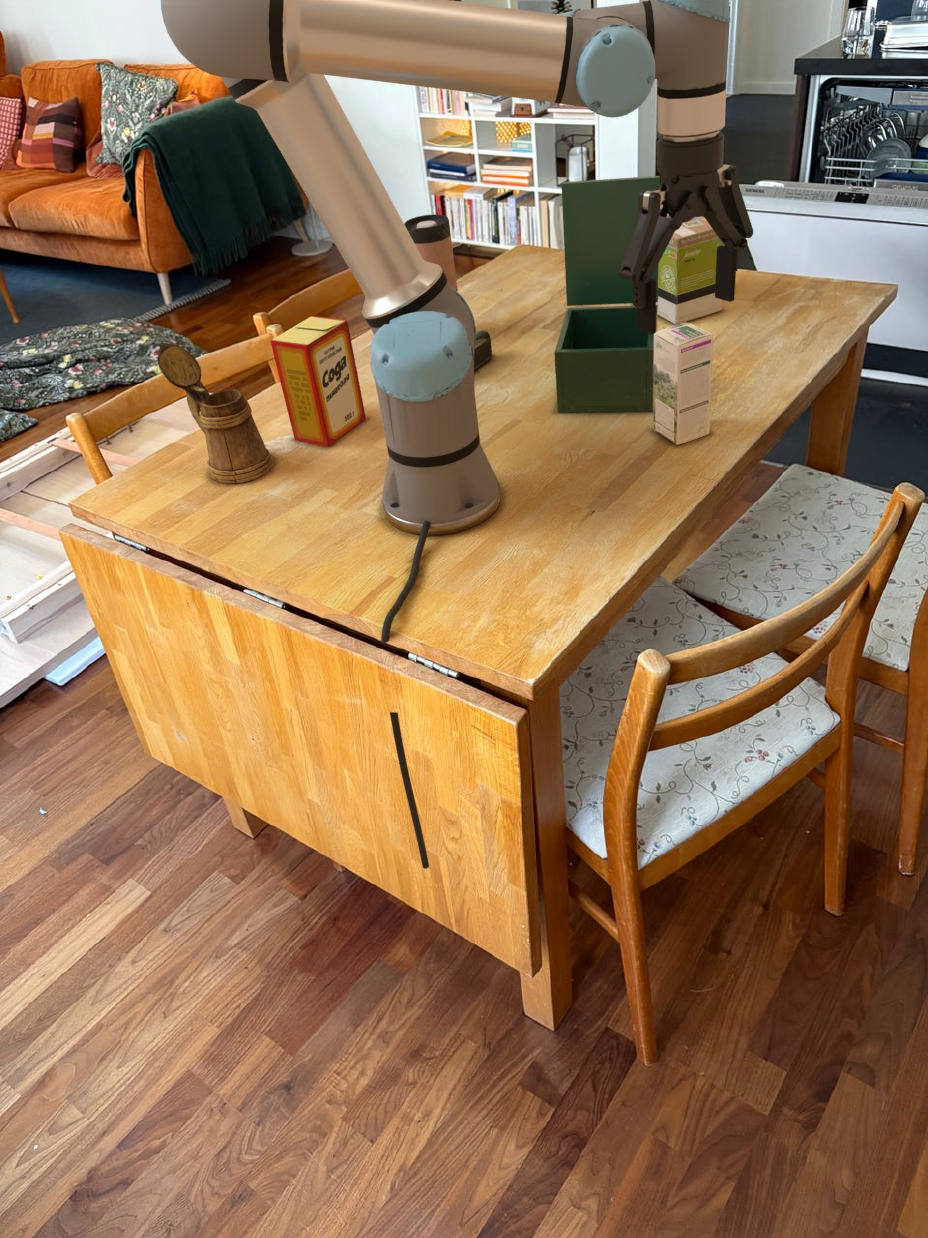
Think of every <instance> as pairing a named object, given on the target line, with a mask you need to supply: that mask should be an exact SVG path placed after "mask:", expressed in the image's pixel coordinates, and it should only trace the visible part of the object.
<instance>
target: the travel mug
mask: <svg viewBox="0 0 928 1238" xmlns="http://www.w3.org/2000/svg"><path fill="white" fill-rule="evenodd" d="M403 223H404V225H405V227H406V229H407V230H408V232H409V234H410V236H411V238H412V240H413V242H414V243H415V245H416V247H417V249H418V251H419V253H420V255H421V256H422V258H423V260H425V261H427V262H430V263H434V264H437V265H439V266H440V267H441V268H442V270H443V272H444V274H445V276H446V277H447V279H448V281H449V283H450V285H451V287H452V288H454V289H455V290H456V291H457V292H459V291H458V290H459V289H458V283H457V281H458V280H457V274H456V265H455V259H454V249H453V241H452V233H451V225H450V219H449V217H448V216H447V215H444V214H424V215H418V216H415V217H412V218H410V219H408V220H406V221H405V222H403Z"/></svg>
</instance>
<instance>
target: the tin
mask: <svg viewBox="0 0 928 1238" xmlns="http://www.w3.org/2000/svg"><path fill="white" fill-rule="evenodd" d="M658 316H659V315H658V305H656V332H657V331H658V327H659V326H658V324H659V323H658V321H659V320H658V318H659V317H658ZM554 369H555V370H554V372H555V387H556V388H555V389H556V404H557V405H556V406H557V407H556V408H557V413H558V414H559V413H560V414H561V413H562V414H563V413H567V414H568V413H628V412H629V413H630V412H631V413H633V412H636V413H637V412H639V413H640V412H654V334H652V335H651V334H648V333H646V332H643V331H640V330H637V315H636V307H634V305H615V306H587V307H567V308H566V312H565V315H564V318H563V322H562V325H561V328H560V332H559V335H558V339H557V342H556V345H555V348H554Z"/></svg>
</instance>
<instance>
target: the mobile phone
mask: <svg viewBox="0 0 928 1238" xmlns="http://www.w3.org/2000/svg"><path fill="white" fill-rule="evenodd" d="M492 347H493V346H492V338H491V334H490V332H488V331H486V330H480V331H477V332H476V342H475V347H474V371H475V370H477V369H479V368H480V367H482V366H483V365H485V364H486V363H488V362H490V360H491V359H492V357H493V348H492Z"/></svg>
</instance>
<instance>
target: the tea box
mask: <svg viewBox="0 0 928 1238" xmlns="http://www.w3.org/2000/svg"><path fill="white" fill-rule="evenodd" d="M666 217H667V218H671V217H670V216H669V215H668V214H667V216H666ZM671 219H672V218H671ZM721 245H722V246H725V244H723V243H722V241H721V240H720V239H719V237H718V236H717V234H716V233H715V232H714V230H713V229H712V227H711V226H710V225H709V223H708V222H707V220H706V219H705V218H704V216H701V217H694V218H693V219H691V220H690V221H687V222H683V223H682V225H681V227H680V228H679V229H678V230H676V231H675V232H674V234H673V236H672V238H671V240H670V242H669V244H668V246H667V248H666V250H665V252H664V254H663V255H662V257H661V259H660V261H659V263H658V302H656V305H658V316H660V317H661V318H663V319H665V320H667V321H668V322H670V323H672V324H673V325H676V324H680V323H684V322H689V321H693V320H696V319H700V318H703V317H705V316H709V315H712V314H714V313H718V312H721V311H722V310H723V300H722V299H718V298H715V281H716V258H717V247H718V246H721Z"/></svg>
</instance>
